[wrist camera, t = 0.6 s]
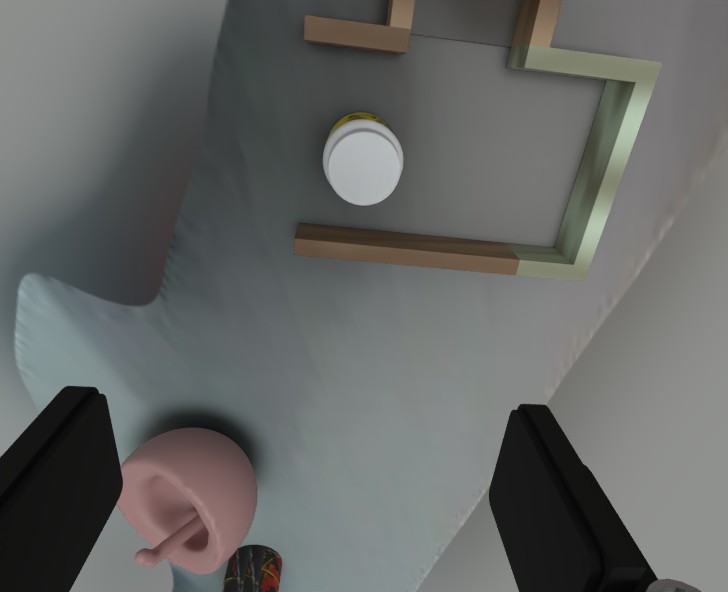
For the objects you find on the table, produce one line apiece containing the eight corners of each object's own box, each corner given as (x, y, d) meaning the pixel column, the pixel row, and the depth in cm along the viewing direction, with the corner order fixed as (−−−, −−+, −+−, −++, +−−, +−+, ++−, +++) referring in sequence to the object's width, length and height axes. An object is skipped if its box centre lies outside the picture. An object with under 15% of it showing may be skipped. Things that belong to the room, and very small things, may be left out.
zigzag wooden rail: (317, -129, 25) (313, -157, 22) (674, -73, 27) (717, -91, 24) (298, 238, 35) (294, 254, 32) (564, 263, 37) (584, 281, 34)
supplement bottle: (405, 126, 32) (423, 144, 24) (379, 190, 34) (389, 225, 26) (339, 99, 31) (337, 109, 23) (317, 166, 33) (309, 196, 25)
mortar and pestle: (131, 397, 41) (59, 505, 31) (265, 401, 42) (238, 508, 32) (150, 490, 47) (94, 610, 36) (268, 492, 47) (247, 610, 37)
